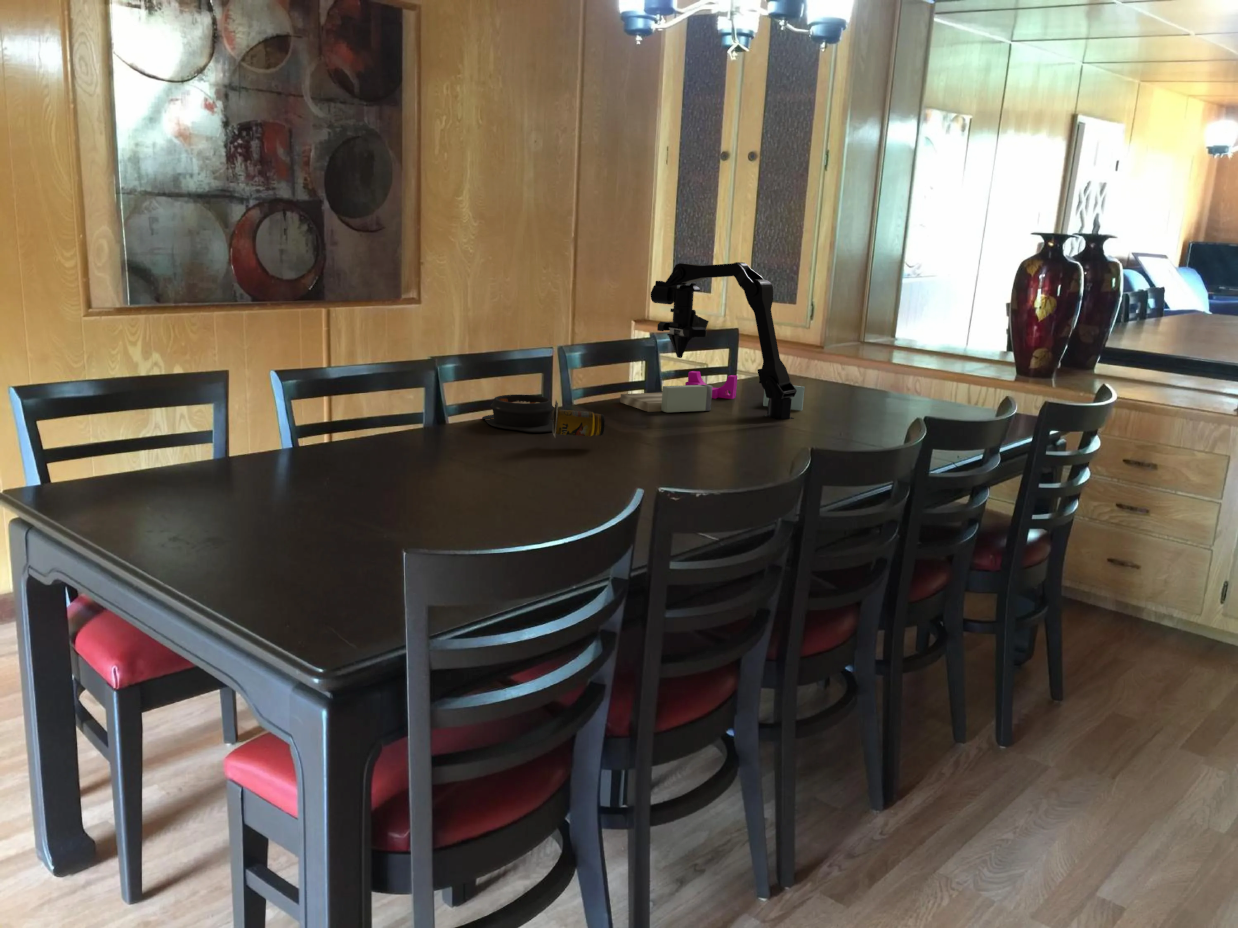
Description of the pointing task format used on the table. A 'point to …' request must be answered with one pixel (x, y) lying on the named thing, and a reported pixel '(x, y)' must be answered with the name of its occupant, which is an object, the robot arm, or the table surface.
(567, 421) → the yellow can
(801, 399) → the right angle wall
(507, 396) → the casserole
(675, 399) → the pale grey rectangular block
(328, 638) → the table surface
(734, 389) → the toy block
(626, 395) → the stool seat
